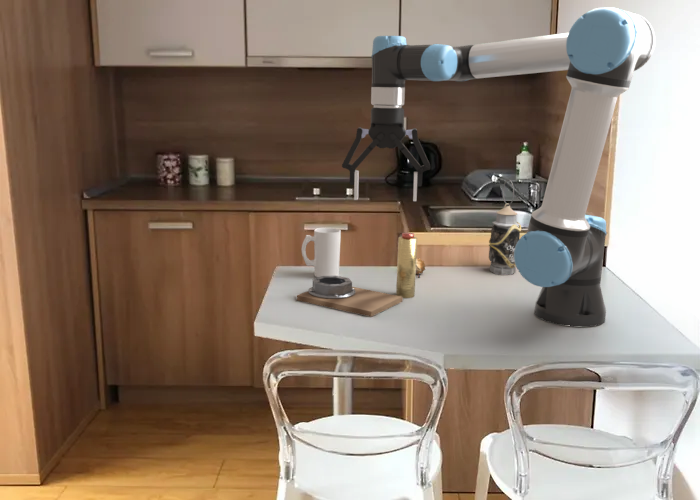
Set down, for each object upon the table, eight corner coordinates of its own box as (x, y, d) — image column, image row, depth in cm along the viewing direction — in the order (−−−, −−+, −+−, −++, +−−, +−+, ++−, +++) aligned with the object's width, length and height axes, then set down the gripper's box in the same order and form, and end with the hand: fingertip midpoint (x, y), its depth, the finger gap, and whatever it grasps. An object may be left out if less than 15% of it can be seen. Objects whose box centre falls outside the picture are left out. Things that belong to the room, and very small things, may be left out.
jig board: (402, 301, 178) (402, 296, 178) (371, 316, 167) (371, 311, 166) (330, 287, 189) (331, 282, 188) (296, 300, 177) (296, 295, 177)
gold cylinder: (417, 294, 184) (420, 233, 181) (409, 299, 180) (411, 236, 177) (401, 291, 186) (404, 231, 183) (392, 295, 183) (395, 234, 179)
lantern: (522, 275, 204) (530, 181, 199) (494, 276, 203) (501, 182, 197) (509, 267, 213) (516, 177, 207) (481, 268, 211) (488, 177, 205)
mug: (336, 271, 203) (337, 227, 200) (342, 278, 197) (343, 232, 194) (298, 273, 200) (299, 228, 198) (303, 280, 194) (304, 233, 191)
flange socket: (364, 291, 182) (364, 279, 181) (338, 302, 173) (338, 289, 172) (325, 283, 187) (326, 272, 187) (298, 293, 178) (299, 281, 178)
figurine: (398, 269, 208) (398, 253, 206) (416, 268, 209) (416, 252, 208) (417, 283, 195) (417, 266, 194) (436, 281, 196) (436, 264, 195)
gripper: (442, 107, 177) (438, 198, 182) (334, 105, 179) (333, 195, 183) (443, 108, 170) (440, 203, 174) (331, 106, 171) (330, 200, 176)
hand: (385, 199), depth 179 cm, fingers open, 13 cm apart
